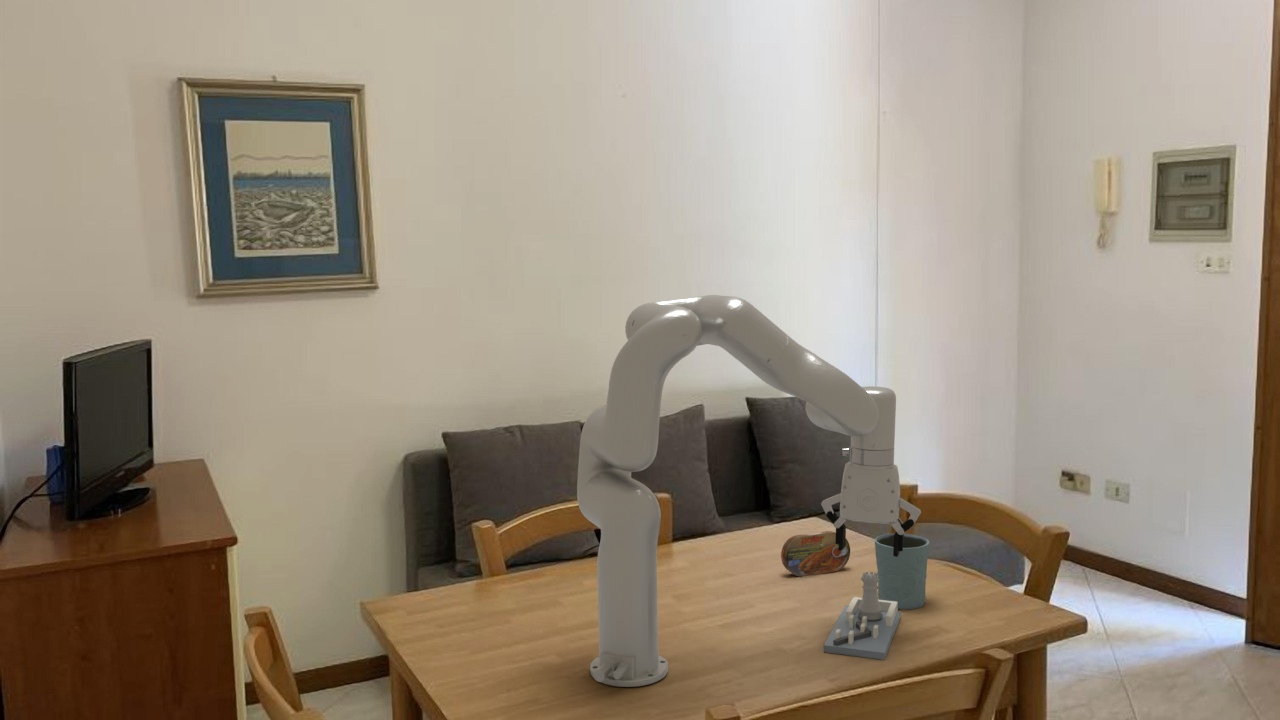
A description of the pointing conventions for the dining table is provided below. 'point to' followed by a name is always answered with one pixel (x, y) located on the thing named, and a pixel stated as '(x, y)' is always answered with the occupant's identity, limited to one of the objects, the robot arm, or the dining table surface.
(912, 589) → the teal cup
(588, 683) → the dining table surface
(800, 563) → the tin
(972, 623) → the dining table surface
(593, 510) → the robot arm
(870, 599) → the rook chess piece
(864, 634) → the board
